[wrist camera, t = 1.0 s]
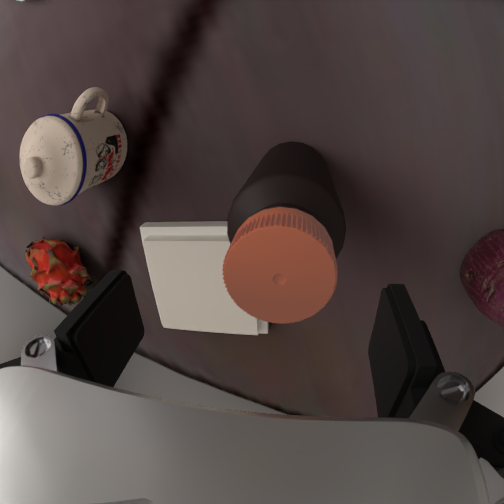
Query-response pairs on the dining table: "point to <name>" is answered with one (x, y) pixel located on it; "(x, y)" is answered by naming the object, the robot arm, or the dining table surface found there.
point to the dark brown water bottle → (284, 237)
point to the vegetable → (486, 275)
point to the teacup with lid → (72, 150)
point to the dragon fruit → (58, 270)
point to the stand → (194, 278)
